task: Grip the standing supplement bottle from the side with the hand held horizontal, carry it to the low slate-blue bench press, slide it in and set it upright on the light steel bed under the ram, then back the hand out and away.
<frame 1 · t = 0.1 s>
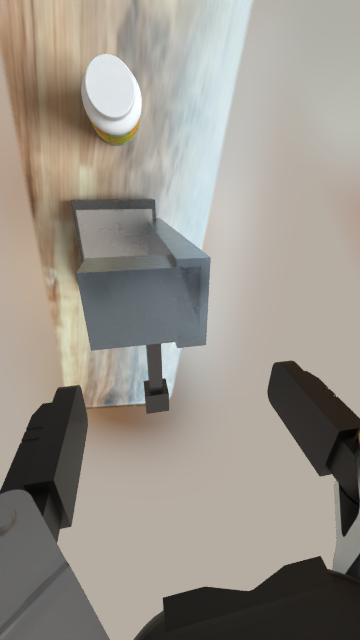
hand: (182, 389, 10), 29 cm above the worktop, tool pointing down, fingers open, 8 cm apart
supplement bottle: (115, 118, 29), on the worktop
arbor press: (119, 243, 35), on the worktop
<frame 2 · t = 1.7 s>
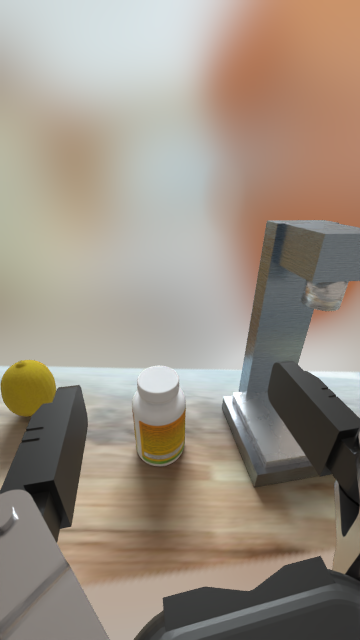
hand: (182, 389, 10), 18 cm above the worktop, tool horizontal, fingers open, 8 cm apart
supplement bottle: (160, 445, 28), on the worktop
lemon: (38, 413, 32), on the worktop
arbor press: (280, 435, 30), on the worktop
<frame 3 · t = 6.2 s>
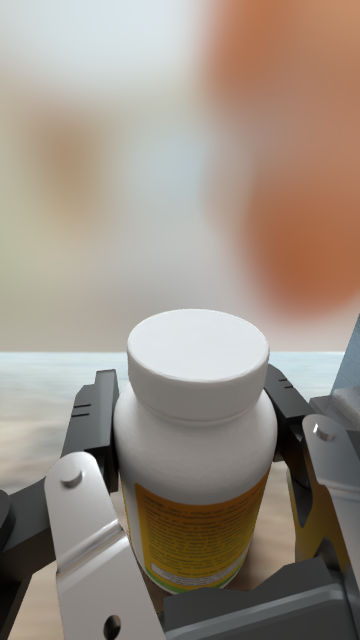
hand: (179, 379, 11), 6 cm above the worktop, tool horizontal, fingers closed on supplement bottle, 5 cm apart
supplement bottle: (189, 519, 12), on the worktop, touching gripper
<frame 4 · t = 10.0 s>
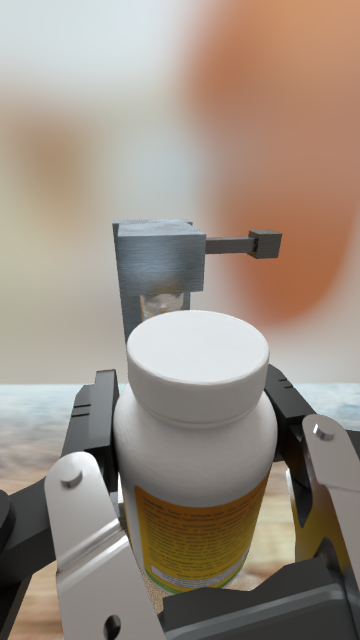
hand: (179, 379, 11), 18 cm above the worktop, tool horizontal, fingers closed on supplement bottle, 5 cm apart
supplement bottle: (189, 521, 12), point 12 cm above the worktop, touching gripper
arbor press: (166, 462, 26), on the worktop
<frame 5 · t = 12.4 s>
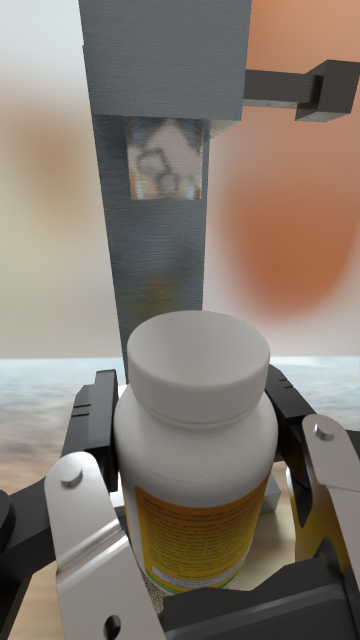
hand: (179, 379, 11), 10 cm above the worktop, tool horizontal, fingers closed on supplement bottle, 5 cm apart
supplement bottle: (189, 521, 12), point 4 cm above the worktop, touching gripper
arbor press: (172, 452, 19), on the worktop
when the fingers open (10 cm above the worktop, at t = 14.2 s): supplement bottle drops 1 cm, resting on arbor press.
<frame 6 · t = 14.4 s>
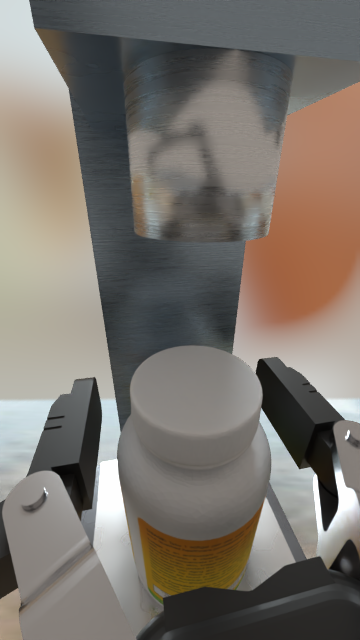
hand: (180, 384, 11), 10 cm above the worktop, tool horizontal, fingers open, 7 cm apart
supplement bottle: (189, 538, 12), point 3 cm above the worktop, touching arbor press
arbor press: (187, 561, 14), on the worktop
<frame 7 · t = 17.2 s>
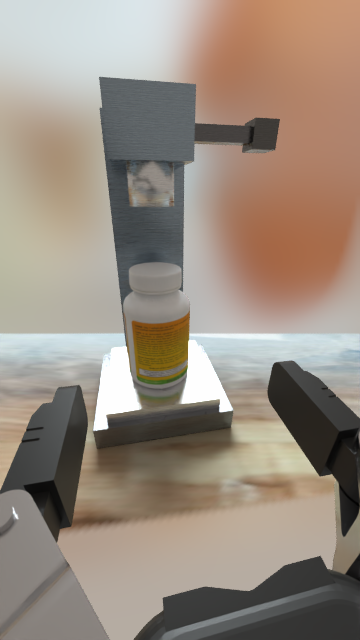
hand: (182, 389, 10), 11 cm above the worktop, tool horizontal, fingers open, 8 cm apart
supplement bottle: (159, 372, 24), point 3 cm above the worktop, touching arbor press
arbor press: (160, 394, 25), on the worktop
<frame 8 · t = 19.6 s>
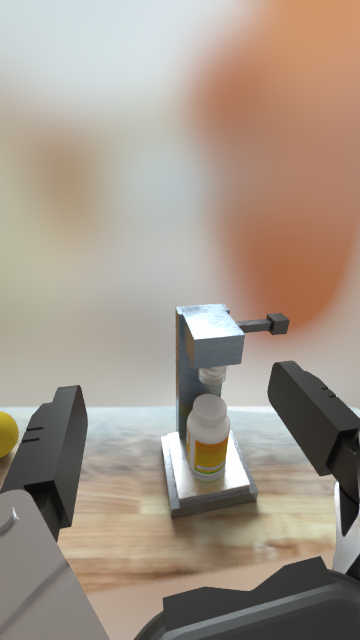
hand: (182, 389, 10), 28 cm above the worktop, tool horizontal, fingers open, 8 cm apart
supplement bottle: (205, 458, 34), point 3 cm above the worktop, touching arbor press
lemon: (4, 454, 38), on the worktop
arbor press: (204, 470, 36), on the worktop
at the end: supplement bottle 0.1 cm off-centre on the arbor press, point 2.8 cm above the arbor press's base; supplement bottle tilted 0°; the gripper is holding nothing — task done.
